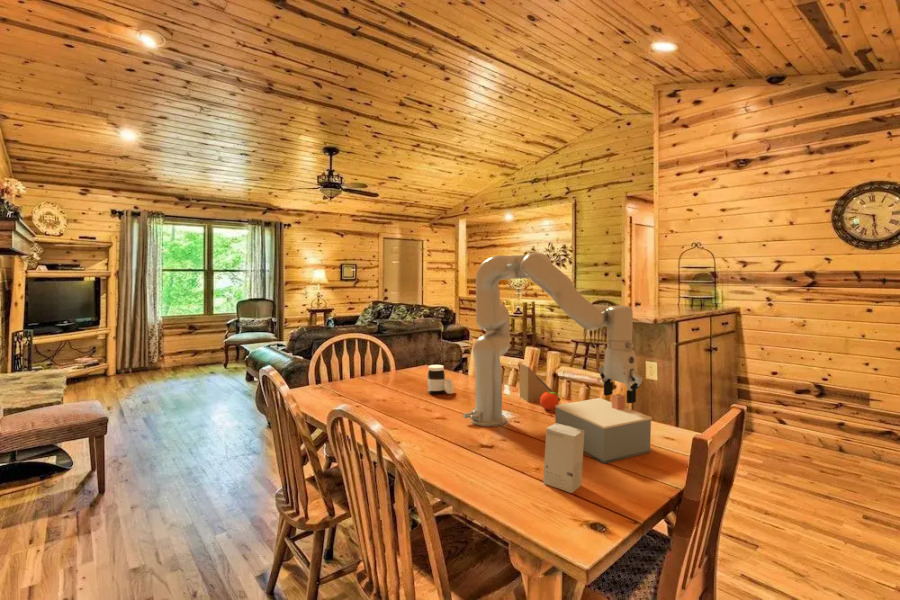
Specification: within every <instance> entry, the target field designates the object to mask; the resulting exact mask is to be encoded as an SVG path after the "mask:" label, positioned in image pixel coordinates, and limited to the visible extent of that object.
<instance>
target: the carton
mask: <svg viewBox="0 0 900 600" xmlns="http://www.w3.org/2000/svg"><path fill="white" fill-rule="evenodd" d="M554 410H555V411H554V413H555V418H554V419H555V421H554V422H555V423H558V424H562V425H565V426H570V427H573V428H576V429H580V430H583V431H584V446H583V454H585V455H587V456H588V455H589V457H590V458H593V460H596V461H598V462H599V463H601V464H603V465H605V464H609V463H612V462H613V463H614V462H616V461H621V460H626V459H629V457H630V458H633V456H634V457H637V455H638V456H642V455H646V454H649V453H651V438H652V437H651V436H652V435H651V429H652V427H651V426H652V419H651V420H646V421H641V422H636V423H631V424H626V425H622V426H617V427H612V428H607V429H603V428H601V427H599V426H596V425H594V424H592V423H590V422H588V421H585V420H583V419H581V418H579V417H576V416H574V415H572V414H570V413H568V412H565V411H563V410H561V409H559V408H556V407H555V408H554ZM555 423H554V424H555ZM641 454H642V455H641ZM625 458H626V459H625Z"/></svg>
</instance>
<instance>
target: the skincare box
mask: <svg viewBox="0 0 900 600" xmlns="http://www.w3.org/2000/svg"><path fill="white" fill-rule="evenodd" d="M545 430H546V431H545V444H544V445H545V446H544V447H545V448H544V465H543V484H544V485H545V486H549V487H553V488H556V489H559V490H562V491H564V492H567V493H570V494H573V493H574V492H575V491H576V490H578V489H579V488H580V487H581V486H582V481H583V465H584V464H583V461H584V459H583V458H584V453H583V446H584V431H583V430H580V429H576V428H573V427H570V426H565V425H562V424H558V423H554V424H551V425H550V426H547V427H546V429H545Z"/></svg>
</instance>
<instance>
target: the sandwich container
mask: <svg viewBox="0 0 900 600" xmlns="http://www.w3.org/2000/svg"><path fill="white" fill-rule="evenodd" d="M545 392H554V391H553V390H552V389H551V388H550V387H549V386H548V385H547V384H546V383H545V382H544V381H543V380H542V379H541V378H540V377H539V375H537V374H536V373H535V372H534V371H533V370H532V369H531V368H530V367H529V366H528V365H526V364H524V363H521V362H519V398H521V399H522V398H523V399H522V400H524V401H525V400H526V401H525V402H527V403H532V402H531V401H537V402H540V398H541V396H542V394H544V393H545ZM555 393H556V392H554V394H555ZM555 395H556V396H557V398H558V400H561V397H560V396H559V395H557V394H555Z"/></svg>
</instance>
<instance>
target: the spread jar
mask: <svg viewBox="0 0 900 600" xmlns="http://www.w3.org/2000/svg"><path fill="white" fill-rule="evenodd" d="M444 370H445V368H444V365H441V364H430V365H428V371H427V391H428V393H429V394H432V395H440V394H443V393H445V392H446V393H447V394H448V395H451V394H453V393H454V384H453V382H452V380H451V378H448V377H447V378H446V373H445V371H444Z"/></svg>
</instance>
